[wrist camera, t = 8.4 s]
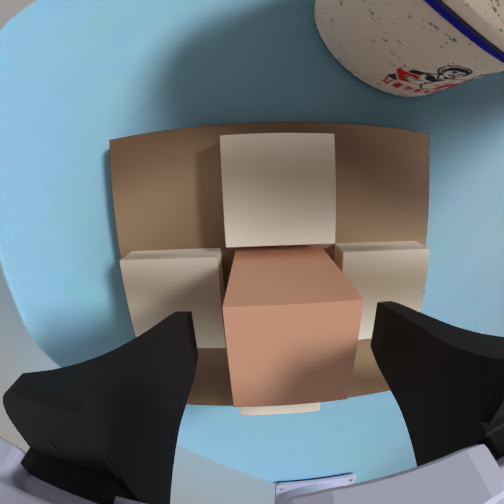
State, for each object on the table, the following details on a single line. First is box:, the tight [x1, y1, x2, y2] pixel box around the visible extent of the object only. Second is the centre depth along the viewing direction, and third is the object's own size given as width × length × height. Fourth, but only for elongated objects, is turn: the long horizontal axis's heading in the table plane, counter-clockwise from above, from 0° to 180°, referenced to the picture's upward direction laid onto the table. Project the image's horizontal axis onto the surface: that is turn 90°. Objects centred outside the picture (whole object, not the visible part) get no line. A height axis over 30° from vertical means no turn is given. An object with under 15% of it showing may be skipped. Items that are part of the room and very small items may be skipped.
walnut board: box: [109, 122, 430, 415], centre depth 14 cm, size 16×16×2 cm
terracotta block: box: [223, 245, 363, 407], centre depth 11 cm, size 4×4×6 cm
